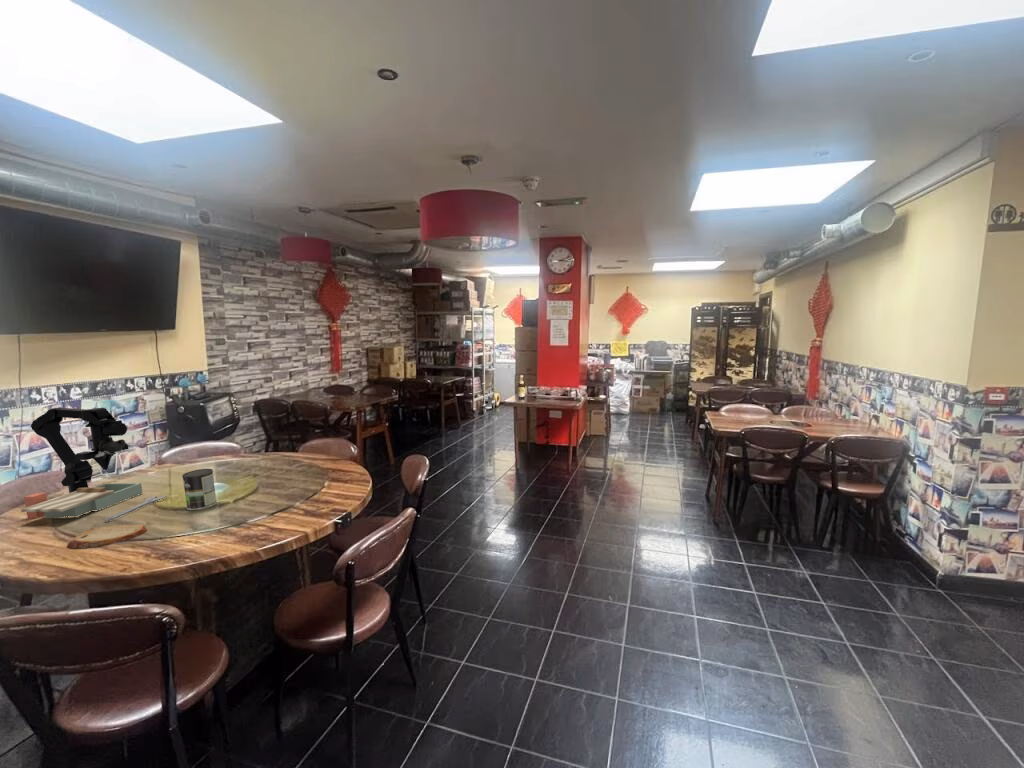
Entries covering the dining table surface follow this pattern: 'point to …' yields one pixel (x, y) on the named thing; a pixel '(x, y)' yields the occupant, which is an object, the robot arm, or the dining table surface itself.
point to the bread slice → (106, 536)
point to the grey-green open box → (102, 499)
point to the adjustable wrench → (136, 507)
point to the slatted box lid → (69, 500)
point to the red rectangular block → (35, 500)
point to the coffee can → (199, 489)
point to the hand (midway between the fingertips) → (105, 469)
